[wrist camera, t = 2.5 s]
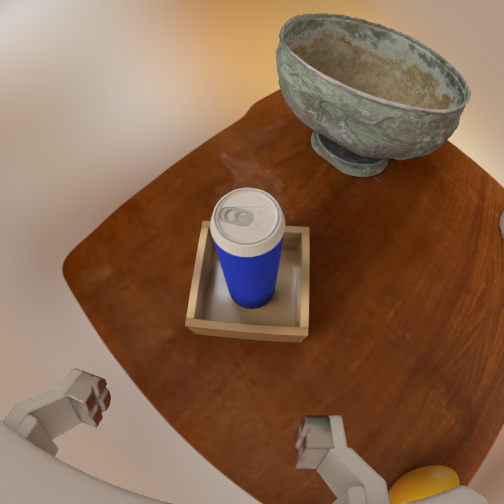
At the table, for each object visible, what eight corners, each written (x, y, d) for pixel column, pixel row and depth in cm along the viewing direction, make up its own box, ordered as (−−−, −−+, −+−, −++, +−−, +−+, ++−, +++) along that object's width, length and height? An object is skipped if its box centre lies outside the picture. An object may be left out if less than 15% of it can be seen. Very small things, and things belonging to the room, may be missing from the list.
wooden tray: (300, 342, 29) (308, 335, 25) (195, 333, 30) (184, 325, 26) (303, 247, 34) (309, 226, 30) (209, 240, 35) (202, 220, 31)
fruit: (378, 524, 18) (404, 549, 11) (372, 478, 22) (402, 500, 14) (437, 494, 19) (471, 508, 12) (433, 448, 22) (472, 457, 15)
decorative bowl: (361, 93, 49) (379, 13, 31) (447, 181, 39) (501, 99, 21) (247, 124, 45) (238, 20, 27) (332, 243, 36) (382, 126, 17)
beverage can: (277, 270, 33) (289, 188, 19) (272, 313, 31) (282, 255, 17) (233, 264, 33) (216, 181, 20) (225, 306, 31) (200, 245, 18)
